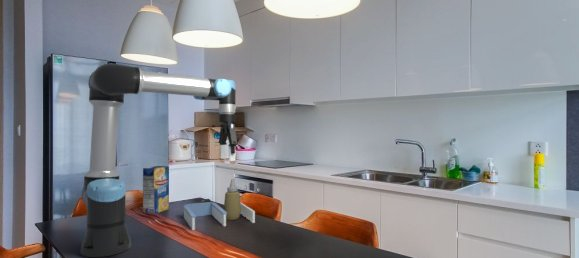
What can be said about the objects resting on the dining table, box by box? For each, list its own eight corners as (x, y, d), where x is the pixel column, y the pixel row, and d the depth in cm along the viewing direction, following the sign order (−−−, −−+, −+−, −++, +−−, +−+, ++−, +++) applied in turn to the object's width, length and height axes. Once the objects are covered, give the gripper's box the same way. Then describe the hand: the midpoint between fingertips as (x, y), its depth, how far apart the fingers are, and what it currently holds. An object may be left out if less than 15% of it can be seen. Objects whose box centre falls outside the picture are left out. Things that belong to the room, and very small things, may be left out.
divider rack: (254, 222, 151) (254, 209, 151) (191, 230, 139) (191, 215, 139) (239, 211, 172) (239, 199, 172) (182, 217, 160) (182, 204, 160)
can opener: (205, 207, 180) (205, 197, 180) (216, 208, 178) (216, 198, 178) (182, 215, 164) (182, 203, 164) (194, 217, 161) (194, 205, 161)
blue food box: (142, 212, 168) (142, 168, 168) (157, 207, 179) (158, 165, 179) (154, 213, 166) (154, 168, 166) (168, 208, 177) (169, 166, 177)
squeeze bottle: (237, 221, 153) (238, 181, 153) (220, 220, 155) (220, 180, 155) (243, 216, 161) (243, 178, 161) (227, 215, 163) (227, 178, 163)
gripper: (244, 112, 149) (244, 161, 149) (227, 114, 171) (227, 157, 171) (227, 112, 145) (228, 162, 145) (212, 114, 167) (212, 157, 167)
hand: (227, 159), depth 158 cm, fingers open, 13 cm apart
